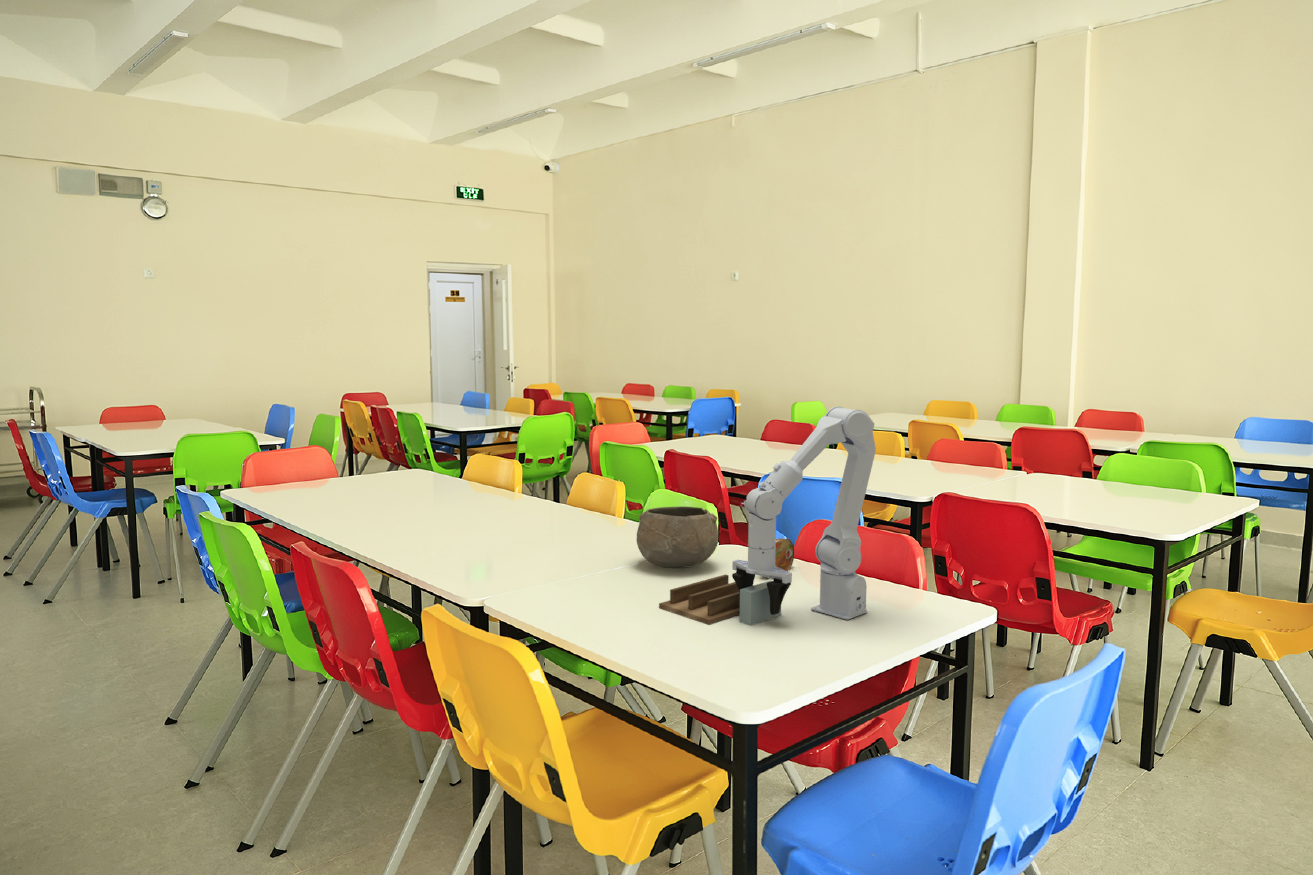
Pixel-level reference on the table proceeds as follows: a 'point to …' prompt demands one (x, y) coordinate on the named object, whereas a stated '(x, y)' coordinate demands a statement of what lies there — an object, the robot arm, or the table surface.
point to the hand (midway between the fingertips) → (760, 609)
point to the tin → (784, 554)
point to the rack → (705, 600)
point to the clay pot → (677, 536)
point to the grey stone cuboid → (755, 604)
